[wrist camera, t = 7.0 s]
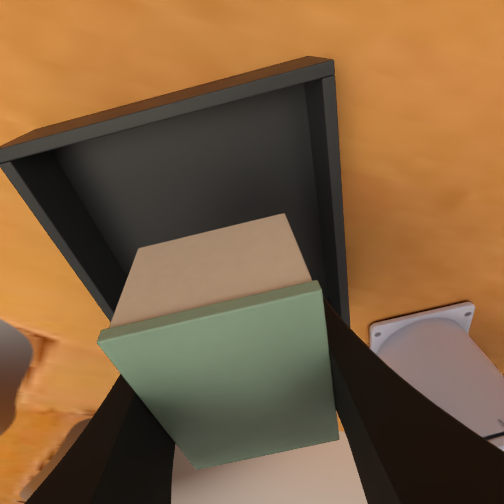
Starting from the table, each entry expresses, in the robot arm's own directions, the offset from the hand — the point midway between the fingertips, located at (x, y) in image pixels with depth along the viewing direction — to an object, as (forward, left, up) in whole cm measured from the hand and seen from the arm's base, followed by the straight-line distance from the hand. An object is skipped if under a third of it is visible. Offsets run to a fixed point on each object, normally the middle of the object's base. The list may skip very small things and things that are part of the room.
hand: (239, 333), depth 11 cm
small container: (0, 0, -1) cm, 1 cm away
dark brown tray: (0, +1, -8) cm, 8 cm away
